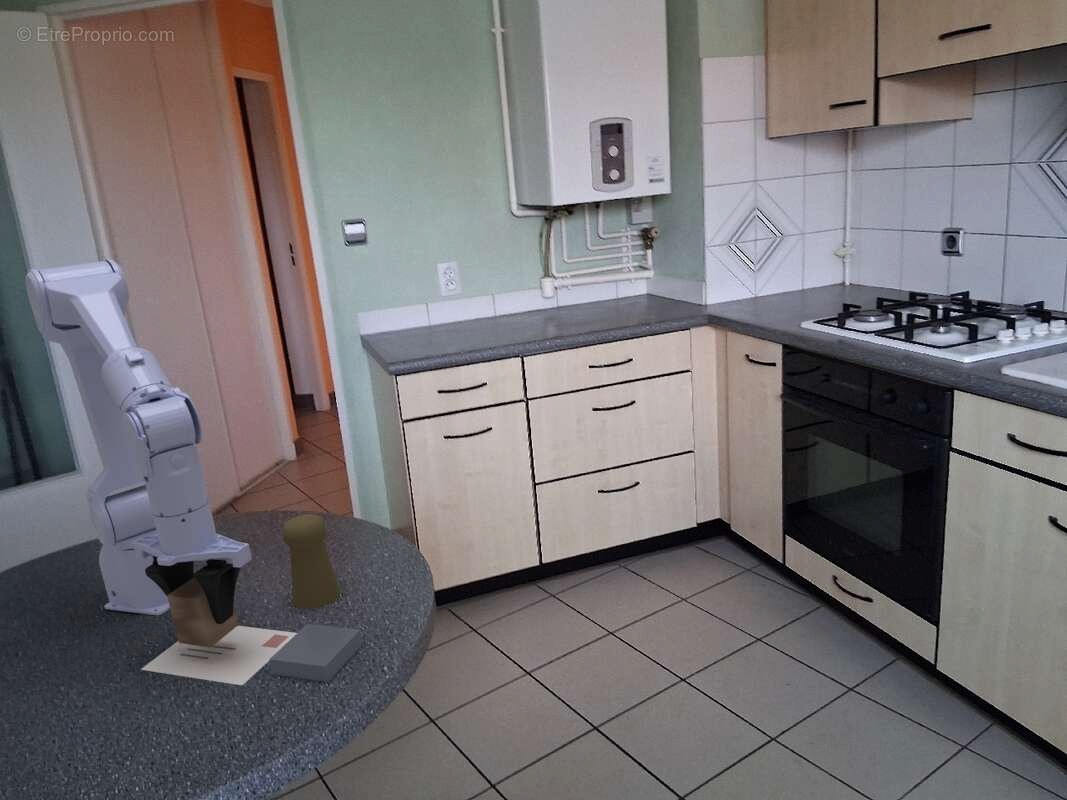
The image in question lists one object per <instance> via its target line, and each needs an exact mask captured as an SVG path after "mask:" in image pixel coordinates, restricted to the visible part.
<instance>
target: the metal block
mask: <svg viewBox="0 0 1067 800" xmlns="http://www.w3.org/2000/svg"><path fill="white" fill-rule="evenodd" d="M296 633H297V634H296V635H295V636H294V637H293V638H292V639H291V640H290V641H288V642H287V643H286V644H285V645H284V646H283V647H282V648H281V649H280V650H279V651H278V652H277V653H276V654H274V655H273V656H272V657H271V658H270V659H269V660H270V661H269V663H270V664H269V666H270V669H271V672H272V673H271V674H272V675H273V676H280V677H288V678H295V679H301V680H308V681H316V682H323V683H329V682H330V681H331V680H332V679H333V678H334V677H335V675H336V674H337V673H339V671H340V670H341V669H342V668H343V667H344V666H345V665H346V664H347V662H349V660H351V659H352V657H353V656H354V655H355V654H356V653H357V652H358V651H359V650H360V648H361V647H362V646H363V645H364V643H363V637H362V633H361V629H359V628H358V629H355V628H348V627H347V628H346V627H339V626H330V625H329V626H328V625H321V624H312V623H307V624H306V625H304V626H303V627H302V628H301V629H300V630H299V631H298V632H296Z"/></svg>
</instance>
